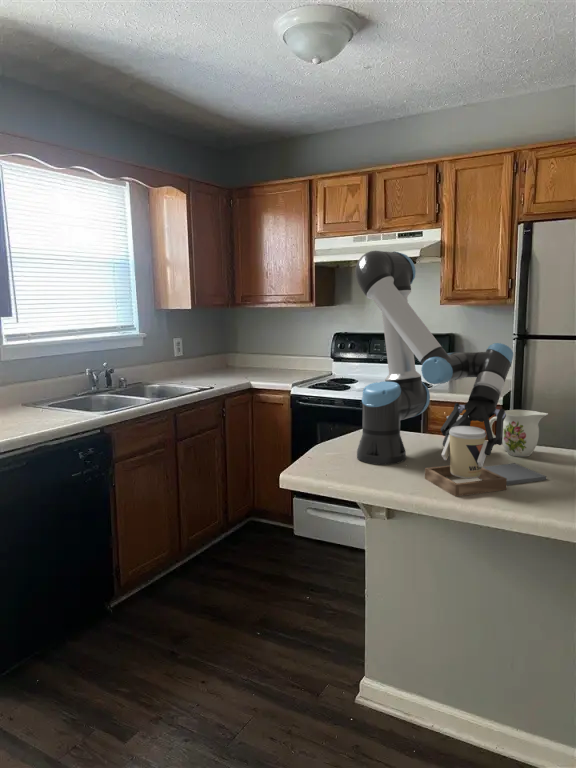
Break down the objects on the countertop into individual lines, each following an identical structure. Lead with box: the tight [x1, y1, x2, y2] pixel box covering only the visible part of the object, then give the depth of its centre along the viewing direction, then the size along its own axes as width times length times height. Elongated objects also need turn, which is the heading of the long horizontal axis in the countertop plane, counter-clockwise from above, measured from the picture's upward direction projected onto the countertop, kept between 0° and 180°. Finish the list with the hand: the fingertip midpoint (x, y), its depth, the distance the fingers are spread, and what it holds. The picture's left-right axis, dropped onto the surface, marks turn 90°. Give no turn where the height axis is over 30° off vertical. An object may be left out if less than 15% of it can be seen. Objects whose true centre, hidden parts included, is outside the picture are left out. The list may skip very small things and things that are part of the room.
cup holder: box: [424, 464, 507, 498], centre depth 149 cm, size 15×15×3 cm
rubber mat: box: [483, 462, 547, 486], centre depth 155 cm, size 13×13×1 cm
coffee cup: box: [449, 425, 487, 479], centre depth 147 cm, size 9×9×12 cm
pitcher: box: [489, 409, 549, 457], centre depth 176 cm, size 11×18×14 cm, turn 50°
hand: (461, 460), depth 145 cm, fingers closed on coffee cup, 9 cm apart
